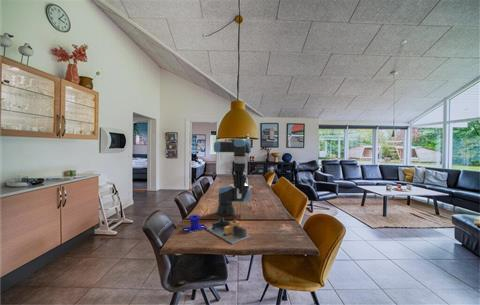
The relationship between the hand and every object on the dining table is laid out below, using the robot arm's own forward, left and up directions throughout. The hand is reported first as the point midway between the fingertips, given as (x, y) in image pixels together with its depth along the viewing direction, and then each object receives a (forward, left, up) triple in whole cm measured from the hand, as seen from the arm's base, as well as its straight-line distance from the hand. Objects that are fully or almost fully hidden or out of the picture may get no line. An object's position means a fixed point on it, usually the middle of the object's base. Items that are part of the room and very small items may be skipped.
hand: (239, 198), depth 139 cm
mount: (-25, -19, -24) cm, 39 cm away
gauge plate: (-5, -6, -23) cm, 25 cm away
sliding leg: (-1, -5, -22) cm, 23 cm away
